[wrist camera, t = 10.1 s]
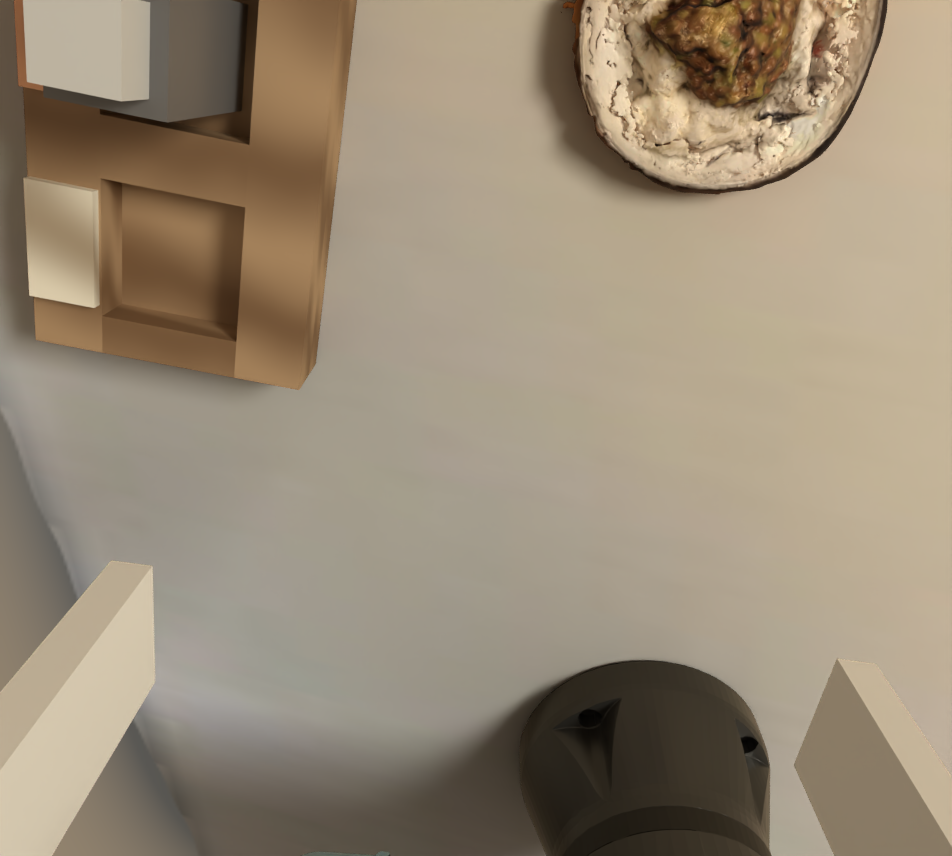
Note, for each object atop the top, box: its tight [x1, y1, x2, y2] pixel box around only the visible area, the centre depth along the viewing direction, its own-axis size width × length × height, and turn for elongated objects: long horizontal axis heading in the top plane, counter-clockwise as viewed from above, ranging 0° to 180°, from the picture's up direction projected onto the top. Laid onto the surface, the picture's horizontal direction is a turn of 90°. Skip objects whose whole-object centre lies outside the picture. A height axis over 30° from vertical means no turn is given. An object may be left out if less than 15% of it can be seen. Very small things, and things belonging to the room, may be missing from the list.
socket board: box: [14, 0, 357, 390], centre depth 33 cm, size 18×12×4 cm, turn 169°
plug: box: [23, 0, 248, 123], centre depth 27 cm, size 4×4×10 cm
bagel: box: [561, 0, 887, 194], centre depth 31 cm, size 15×15×4 cm
